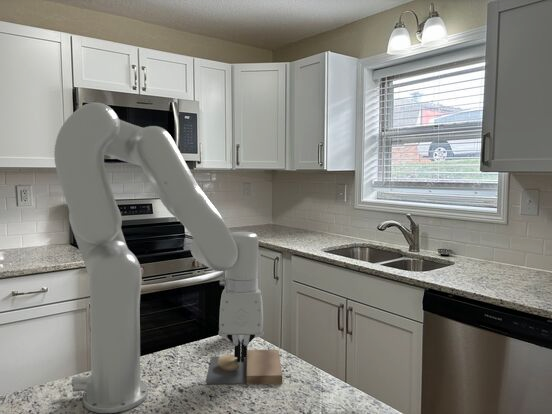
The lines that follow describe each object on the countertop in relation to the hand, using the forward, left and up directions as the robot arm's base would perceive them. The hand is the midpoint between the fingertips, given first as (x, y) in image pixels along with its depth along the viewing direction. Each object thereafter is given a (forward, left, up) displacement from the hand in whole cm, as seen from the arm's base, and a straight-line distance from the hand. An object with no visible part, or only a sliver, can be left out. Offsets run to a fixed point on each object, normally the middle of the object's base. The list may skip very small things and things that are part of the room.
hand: (240, 359), depth 103 cm
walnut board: (+6, 0, -3) cm, 6 cm away
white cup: (-1, +20, -3) cm, 20 cm away
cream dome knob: (-3, +1, -2) cm, 4 cm away
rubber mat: (-3, 0, -3) cm, 4 cm away
